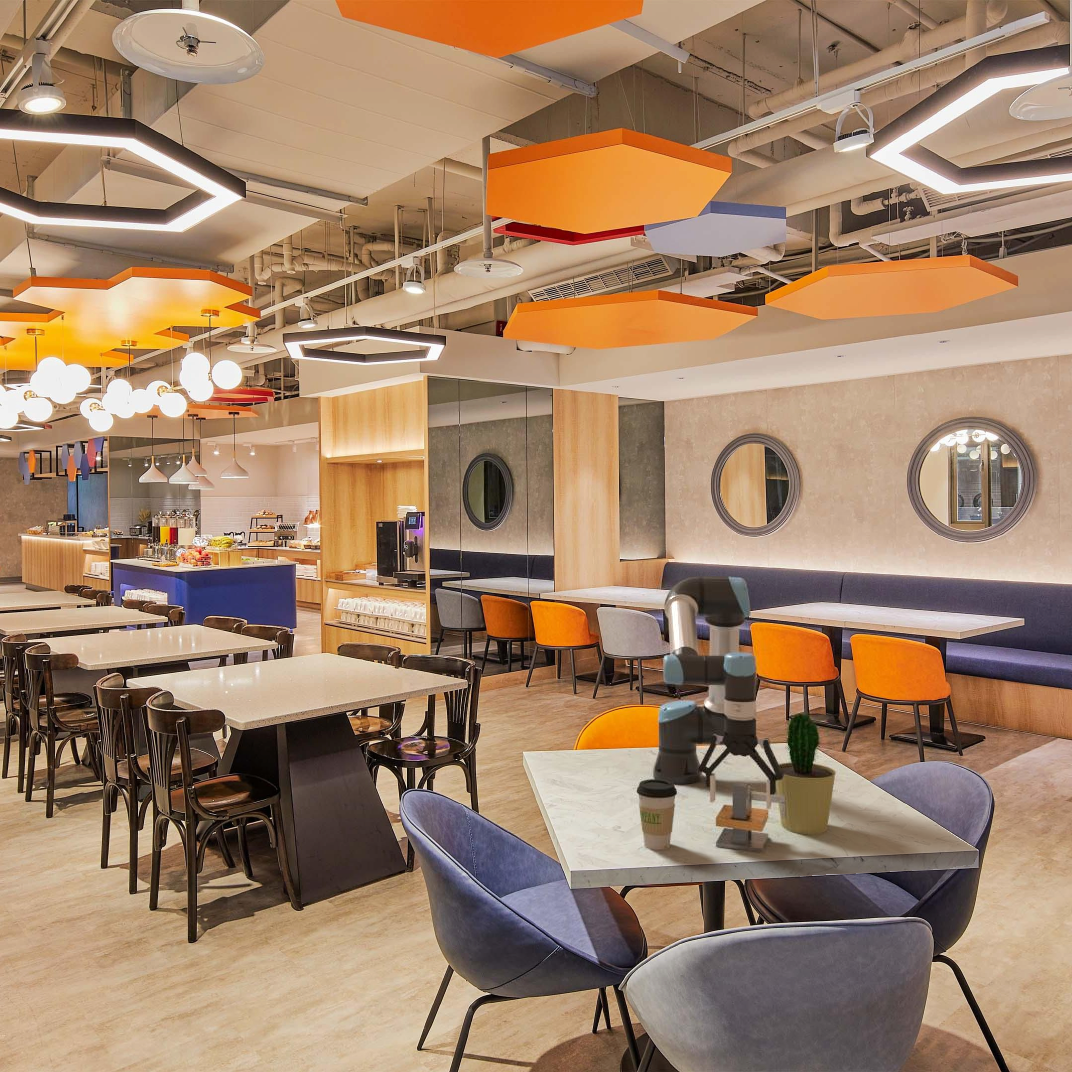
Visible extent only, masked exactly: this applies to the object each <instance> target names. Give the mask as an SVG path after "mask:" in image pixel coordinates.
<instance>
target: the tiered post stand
mask: <svg viewBox="0 0 1072 1072" xmlns="http://www.w3.org/2000/svg"><path fill="white" fill-rule="evenodd" d="M752 801H756V802H766V803H767V796H766V792H765V791H763V792H762V791H753V790H752V786H751V785H749V784H748V821H743V820H734V819H733V804H731V805H730V804H723V806H722V807H721V808H720V811H719V812H718V814H717V815H716V817H715V827H721V828H723V829H722V831H721V832H720V835H719V836H718V838H717V839H716V842H715V847H716V848H725V849H731V850H738V851H745V852H751V853H752V852H754V853H760V854H762V853H763V851H764V850H765V847H766V844H767V842H768V840H769V837H770V836H769V833H767V832H763V830H764V828H765V827H766V824H767V822H768V820H769V809H767V808H766V809H765V808H758V807H757V808H756V807H752ZM771 803H774V804H775V803H776V804H778V803H782V818H785V817H786V795H782V794H777V793H775V794H774V795H771ZM733 828H735V829H743V830H748V842H747V844H746V845H743V844H736V843H733Z"/></svg>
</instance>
